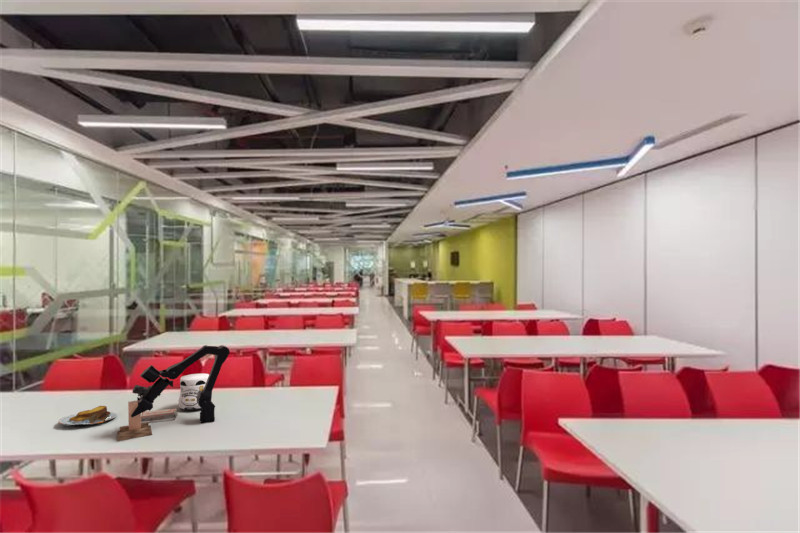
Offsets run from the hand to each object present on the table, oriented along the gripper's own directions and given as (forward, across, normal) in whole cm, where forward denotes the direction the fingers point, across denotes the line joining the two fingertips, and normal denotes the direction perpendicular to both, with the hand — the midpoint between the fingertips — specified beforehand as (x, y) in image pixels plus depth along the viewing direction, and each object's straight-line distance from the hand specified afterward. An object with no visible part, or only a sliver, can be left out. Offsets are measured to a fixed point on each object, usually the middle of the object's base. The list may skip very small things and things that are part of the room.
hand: (131, 415), depth 213 cm
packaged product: (-2, -18, +16) cm, 24 cm away
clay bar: (+4, 0, +6) cm, 7 cm away
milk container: (-16, -28, +29) cm, 44 cm away
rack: (+6, 0, +7) cm, 9 cm away
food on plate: (+20, -35, -6) cm, 41 cm away
